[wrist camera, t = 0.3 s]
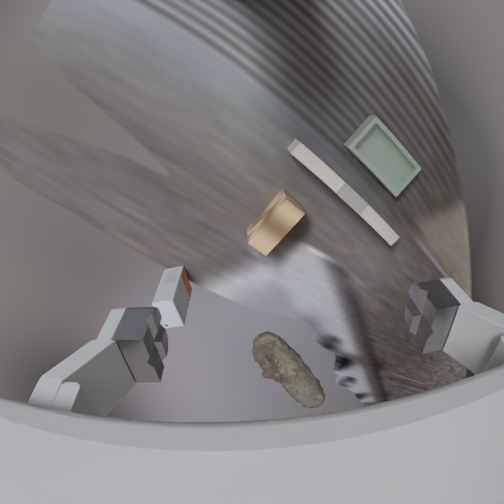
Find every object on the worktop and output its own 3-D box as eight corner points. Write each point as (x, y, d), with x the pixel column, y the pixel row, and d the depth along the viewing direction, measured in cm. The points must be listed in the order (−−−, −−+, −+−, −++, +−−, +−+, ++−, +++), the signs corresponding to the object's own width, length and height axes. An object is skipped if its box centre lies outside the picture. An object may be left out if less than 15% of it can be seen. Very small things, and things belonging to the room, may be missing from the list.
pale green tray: (343, 144, 52) (347, 147, 49) (369, 114, 49) (376, 116, 47) (390, 192, 56) (396, 197, 53) (414, 165, 53) (421, 168, 51)
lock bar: (263, 241, 60) (265, 256, 55) (247, 229, 59) (247, 243, 54) (299, 202, 57) (305, 213, 51) (282, 188, 55) (287, 199, 50)
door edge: (286, 148, 52) (290, 154, 47) (295, 138, 51) (301, 142, 46) (381, 235, 60) (391, 247, 55) (389, 226, 59) (400, 237, 55)
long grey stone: (300, 402, 88) (330, 389, 86) (304, 416, 83) (335, 403, 81) (239, 340, 72) (276, 322, 70) (241, 357, 67) (280, 338, 65)
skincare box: (192, 288, 65) (184, 327, 54) (174, 292, 65) (163, 330, 54) (183, 264, 62) (173, 300, 51) (164, 268, 62) (150, 303, 52)
